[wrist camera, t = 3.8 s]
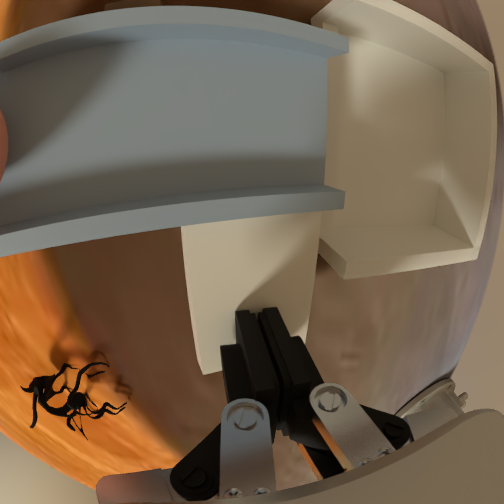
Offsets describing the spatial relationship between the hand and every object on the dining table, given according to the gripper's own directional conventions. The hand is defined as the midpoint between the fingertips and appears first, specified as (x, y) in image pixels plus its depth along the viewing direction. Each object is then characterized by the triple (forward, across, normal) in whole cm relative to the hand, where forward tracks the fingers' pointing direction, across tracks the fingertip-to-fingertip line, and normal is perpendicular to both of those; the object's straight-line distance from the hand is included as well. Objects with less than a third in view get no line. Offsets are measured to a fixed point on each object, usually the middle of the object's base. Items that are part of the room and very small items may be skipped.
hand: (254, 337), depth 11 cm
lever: (0, +6, -5) cm, 8 cm away
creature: (+5, +12, +8) cm, 15 cm away
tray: (+4, -9, -8) cm, 13 cm away
